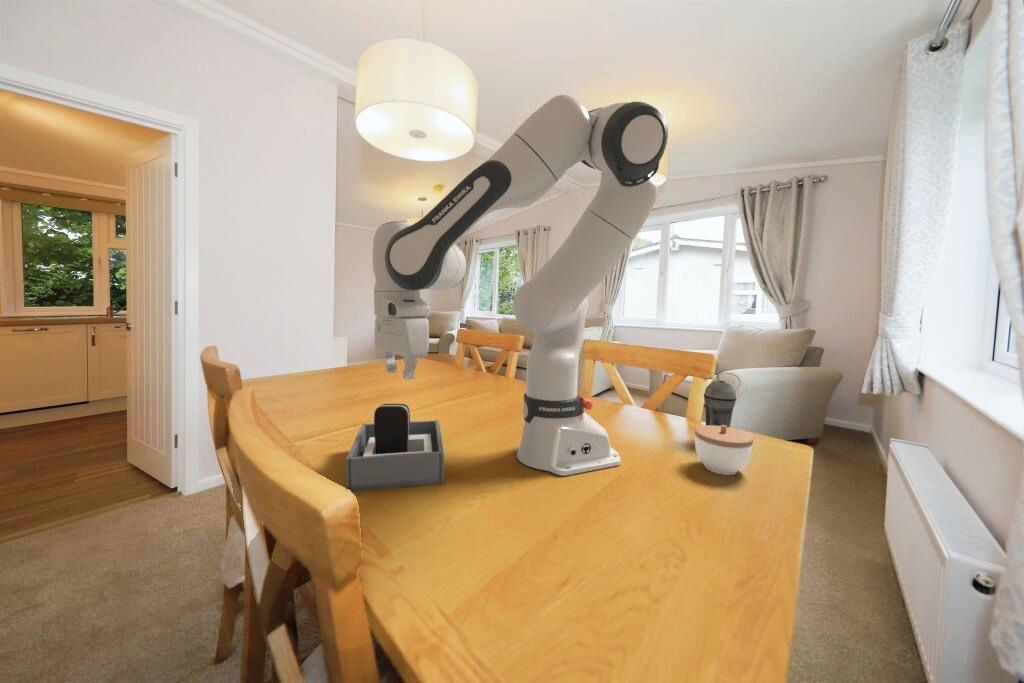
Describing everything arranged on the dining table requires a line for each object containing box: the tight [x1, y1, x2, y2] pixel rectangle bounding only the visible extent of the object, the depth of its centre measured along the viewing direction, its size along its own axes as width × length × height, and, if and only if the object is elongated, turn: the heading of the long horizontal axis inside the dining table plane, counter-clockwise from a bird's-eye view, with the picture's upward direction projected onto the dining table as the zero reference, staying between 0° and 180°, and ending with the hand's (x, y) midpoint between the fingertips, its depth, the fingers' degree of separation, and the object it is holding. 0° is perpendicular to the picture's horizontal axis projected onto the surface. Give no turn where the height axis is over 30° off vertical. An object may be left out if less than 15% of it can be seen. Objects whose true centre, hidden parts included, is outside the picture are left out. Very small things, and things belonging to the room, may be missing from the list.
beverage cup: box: [703, 362, 738, 428], centre depth 97 cm, size 7×7×20 cm
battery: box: [373, 403, 411, 454], centre depth 82 cm, size 7×4×11 cm, turn 94°
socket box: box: [345, 419, 445, 492], centre depth 81 cm, size 17×20×6 cm
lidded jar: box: [694, 424, 754, 476], centre depth 82 cm, size 11×11×9 cm
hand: (399, 375), depth 79 cm, fingers open, 8 cm apart
